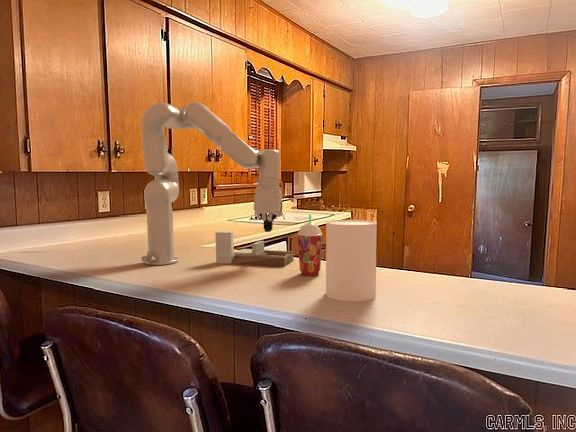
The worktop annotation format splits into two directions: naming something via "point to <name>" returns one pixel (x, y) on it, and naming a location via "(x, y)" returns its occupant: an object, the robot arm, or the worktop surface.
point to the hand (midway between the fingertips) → (267, 231)
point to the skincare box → (224, 247)
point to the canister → (351, 260)
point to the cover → (253, 249)
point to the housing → (265, 258)
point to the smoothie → (309, 248)
